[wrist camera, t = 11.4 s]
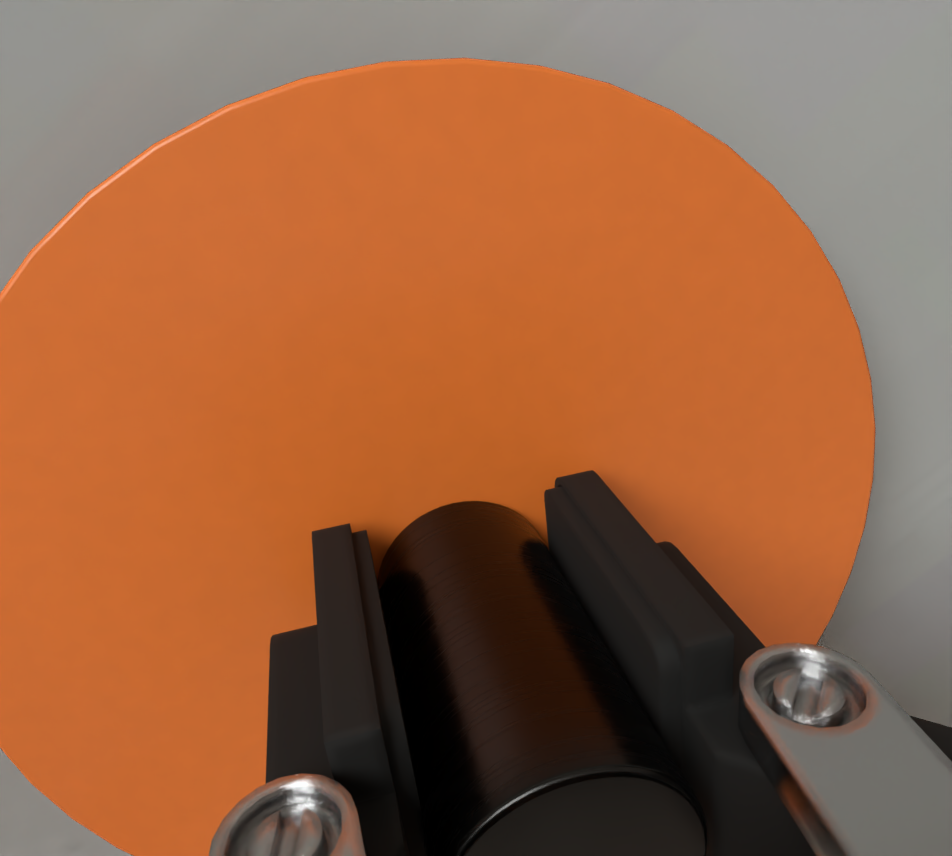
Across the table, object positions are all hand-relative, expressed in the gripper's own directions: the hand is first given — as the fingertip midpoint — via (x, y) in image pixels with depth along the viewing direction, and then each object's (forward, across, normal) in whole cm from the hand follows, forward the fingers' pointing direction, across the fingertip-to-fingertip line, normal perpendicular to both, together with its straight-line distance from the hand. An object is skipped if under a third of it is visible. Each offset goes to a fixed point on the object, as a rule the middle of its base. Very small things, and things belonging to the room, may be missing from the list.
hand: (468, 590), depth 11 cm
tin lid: (+1, 0, 0) cm, 1 cm away
